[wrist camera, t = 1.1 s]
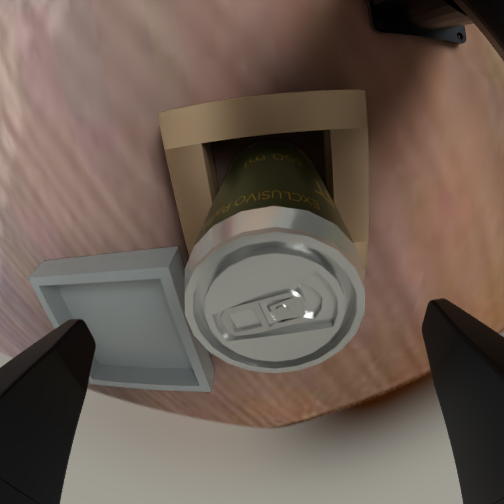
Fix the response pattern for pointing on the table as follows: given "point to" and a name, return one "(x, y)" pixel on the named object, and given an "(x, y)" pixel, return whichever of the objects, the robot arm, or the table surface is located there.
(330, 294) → the beer can
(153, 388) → the grey tray
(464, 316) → the robot arm
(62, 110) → the table surface
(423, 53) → the table surface
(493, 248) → the table surface
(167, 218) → the table surface
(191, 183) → the tan holder
